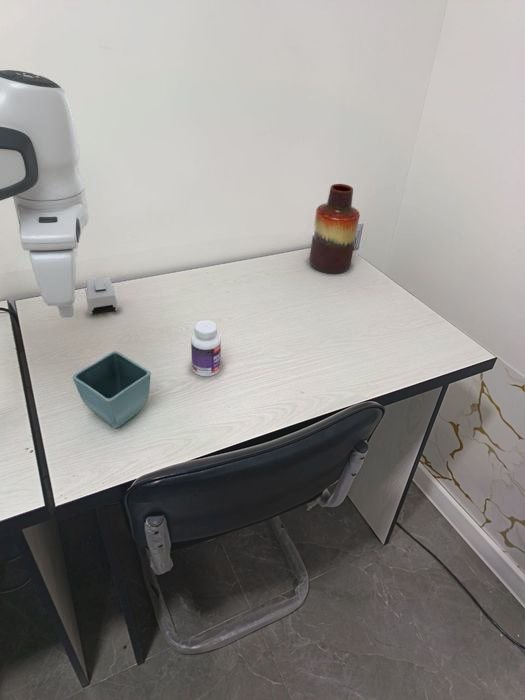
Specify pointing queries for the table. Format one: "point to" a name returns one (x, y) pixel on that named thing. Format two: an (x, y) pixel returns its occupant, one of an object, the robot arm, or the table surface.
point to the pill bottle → (206, 349)
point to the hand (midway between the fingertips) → (68, 297)
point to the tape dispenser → (100, 296)
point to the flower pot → (114, 388)
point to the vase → (334, 231)
